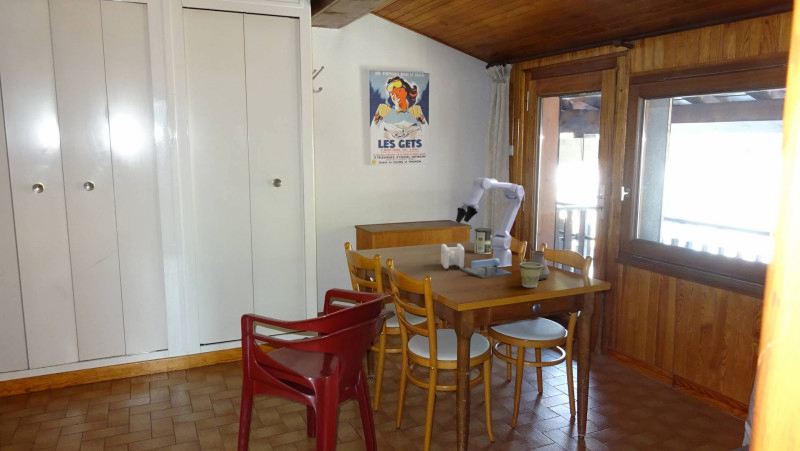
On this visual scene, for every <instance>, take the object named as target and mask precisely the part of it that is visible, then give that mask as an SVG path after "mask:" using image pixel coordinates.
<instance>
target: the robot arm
mask: <svg viewBox="0 0 800 451" xmlns="http://www.w3.org/2000/svg"><path fill="white" fill-rule="evenodd" d="M497 189H500V190H501V189H502V192H503V194H504V197H505V199H506V200H507V202H508V203H509V205H508V206H507V210H506V212H505V214H504V218H503V219H502V223H501V225H500V228H499V230H496V232H494V233H493V235H492V238H491V240H490V244H491V250H492V252H493V253H492V259H493V258H498V259H499V265H498V266H497V268H506V267H512V266H513V265H512V251H511V249H510V247H511V243H512V242H511V241H512V235H511V234H510V232H511V229H512V227H513V224H514V222H515V219H516V216H517V215H518V211H519V209H520V207H521V203H522V201H523V198H524V196H525V189H524V187H523V185H518V184H517V183H511V182H503V181H502V182H501V181H500V182H499V181H498V180H497V179H496V178H494V177H490V178H488V177H476V179H474V180H473V184H472V187H471V191H470V193H469V195H468V197H467V199H466V200H465V201H462V205H460V207H457V210H456V211H457V213H456V214H457V215H456V217H455V218H456V219H455V221H456V222H457V223H458V224H460V223H461V222H462V221H464V222H466V223H468V222H469V221H470V220H471V219H472V218H473V217H474V216H475V215H477V214H478V213H479V212H478V211H477V210H478V209H479V207H480V206H479V205H478V204H479V202H480V200H481V198H482V196H483V194H484V192H485V191H487V190H488V191H496V190H497Z"/></svg>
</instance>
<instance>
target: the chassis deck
mask: <svg viewBox="0 0 800 451" xmlns="http://www.w3.org/2000/svg"><path fill="white" fill-rule="evenodd" d="M460 270H461V272H464V273H467V274H469V275H473V276H475V277H477V278H481V279H487V278H495V277H496V278H497V277H503V276H511V275H513V272H511V271H509V270H505V269H502V268H500V267H497V271H495V272H492V273H484V274H475V273H472V272H471V267H465V268H464V267H463V268H462V269H460Z"/></svg>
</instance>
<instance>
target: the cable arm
mask: <svg viewBox="0 0 800 451" xmlns="http://www.w3.org/2000/svg"><path fill="white" fill-rule="evenodd" d="M470 265H471V266H470V268H471V267H472V268H477V267H486V266H498V265H499V259H498V258H493V257H492V258H489V259H480V260H471V264H470Z"/></svg>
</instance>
